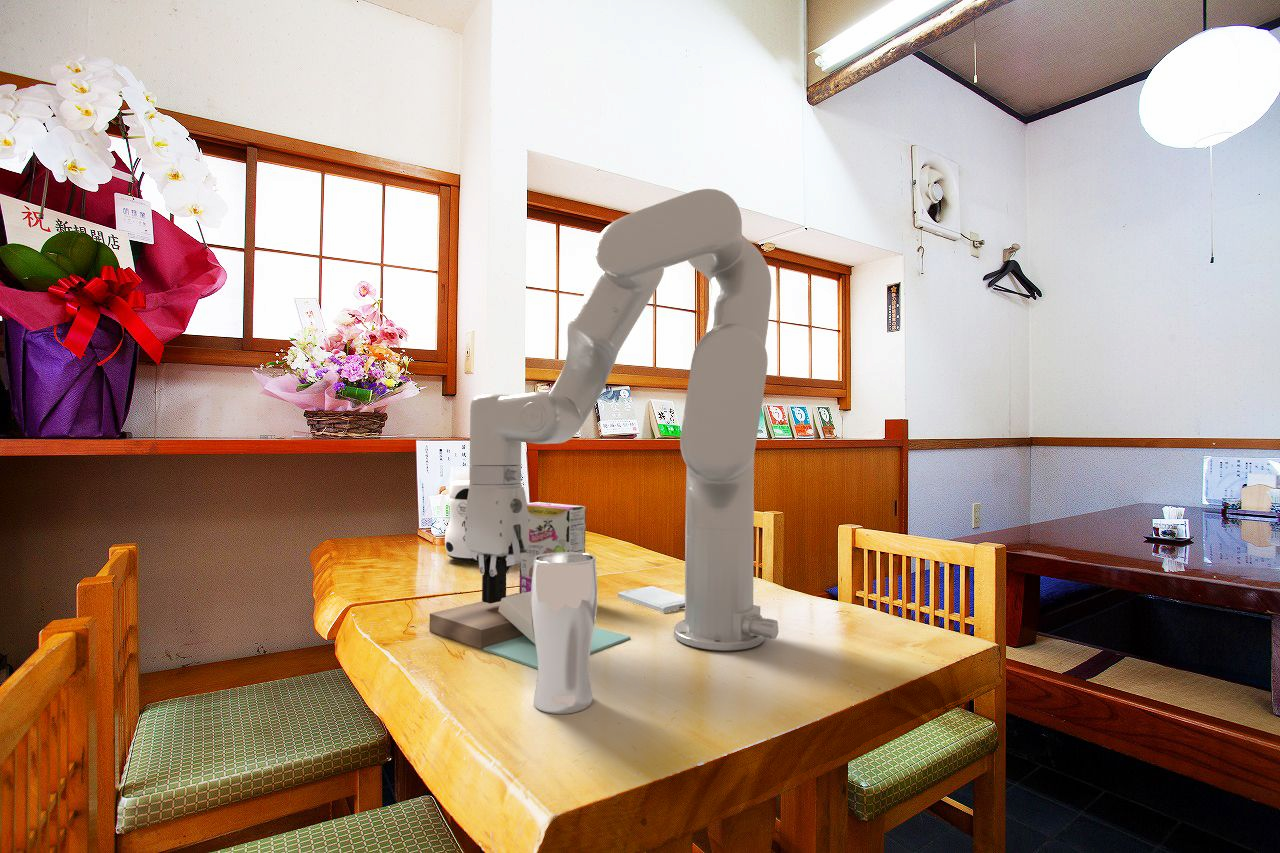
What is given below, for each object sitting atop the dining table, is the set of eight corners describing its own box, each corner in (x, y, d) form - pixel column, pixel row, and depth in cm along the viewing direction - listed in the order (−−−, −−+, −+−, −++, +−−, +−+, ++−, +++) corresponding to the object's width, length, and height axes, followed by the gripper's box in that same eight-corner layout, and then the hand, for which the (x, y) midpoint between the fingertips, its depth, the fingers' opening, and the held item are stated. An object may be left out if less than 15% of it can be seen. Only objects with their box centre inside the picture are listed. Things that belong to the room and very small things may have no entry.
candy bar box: (517, 598, 107) (518, 503, 107) (536, 592, 111) (537, 501, 112) (567, 607, 101) (568, 507, 101) (586, 601, 105) (587, 505, 106)
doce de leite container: (481, 570, 130) (482, 485, 131) (428, 561, 140) (429, 481, 140) (537, 557, 145) (538, 481, 145) (485, 550, 154) (486, 478, 155)
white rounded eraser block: (571, 636, 85) (575, 623, 85) (538, 647, 80) (542, 633, 80) (531, 602, 90) (534, 590, 90) (498, 610, 86) (501, 598, 85)
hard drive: (617, 592, 108) (663, 606, 98) (653, 585, 113) (700, 598, 103) (617, 601, 108) (663, 617, 98) (653, 594, 113) (700, 608, 103)
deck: (569, 622, 93) (569, 605, 93) (481, 649, 80) (481, 629, 80) (517, 608, 100) (517, 593, 100) (429, 631, 88) (429, 613, 88)
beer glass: (532, 689, 67) (534, 551, 68) (596, 687, 68) (597, 551, 68) (526, 717, 60) (528, 563, 61) (597, 715, 61) (598, 563, 61)
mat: (630, 638, 85) (630, 636, 85) (543, 671, 73) (543, 668, 73) (571, 622, 92) (571, 620, 92) (483, 650, 80) (483, 647, 80)
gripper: (548, 478, 90) (547, 604, 90) (485, 474, 100) (483, 589, 99) (507, 480, 84) (506, 615, 84) (444, 476, 94) (442, 598, 93)
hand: (494, 600), depth 91 cm, fingers closed
